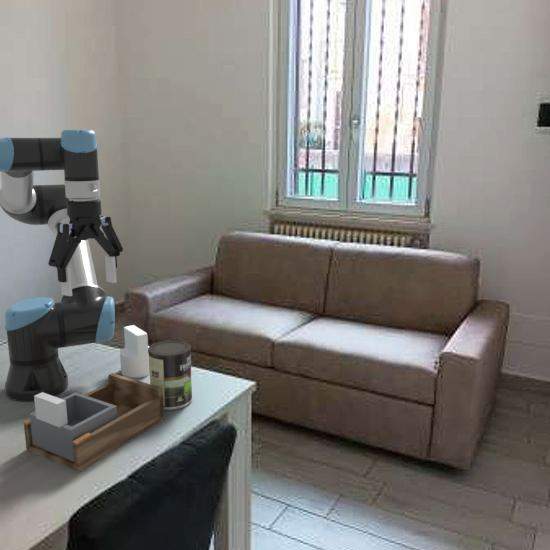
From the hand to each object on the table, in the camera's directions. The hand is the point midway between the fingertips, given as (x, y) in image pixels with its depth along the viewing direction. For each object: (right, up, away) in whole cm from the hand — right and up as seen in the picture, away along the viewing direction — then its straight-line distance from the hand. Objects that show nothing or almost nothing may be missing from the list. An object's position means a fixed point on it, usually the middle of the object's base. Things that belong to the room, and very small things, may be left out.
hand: (90, 288), depth 140 cm
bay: (+5, -32, -9) cm, 34 cm away
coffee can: (+18, -28, +7) cm, 34 cm away
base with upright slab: (+6, -24, +24) cm, 34 cm away
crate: (+2, -32, -15) cm, 35 cm away
